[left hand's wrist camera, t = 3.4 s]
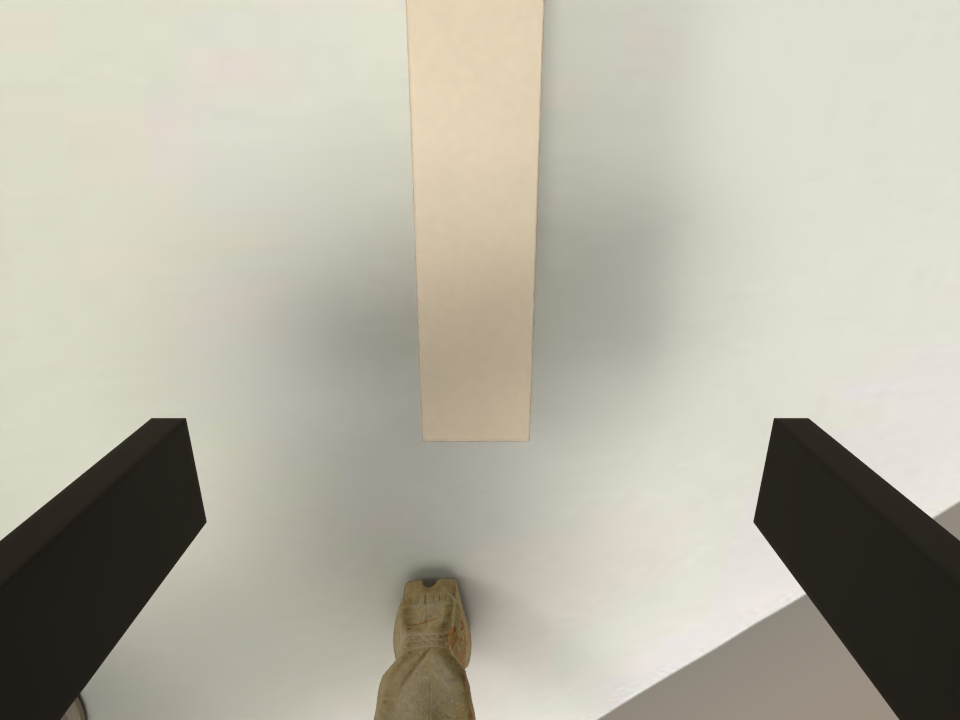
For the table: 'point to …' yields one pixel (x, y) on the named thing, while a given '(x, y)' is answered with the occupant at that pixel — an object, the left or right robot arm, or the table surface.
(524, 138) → the bar
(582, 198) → the table surface
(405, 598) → the sculpture
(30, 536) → the left robot arm
